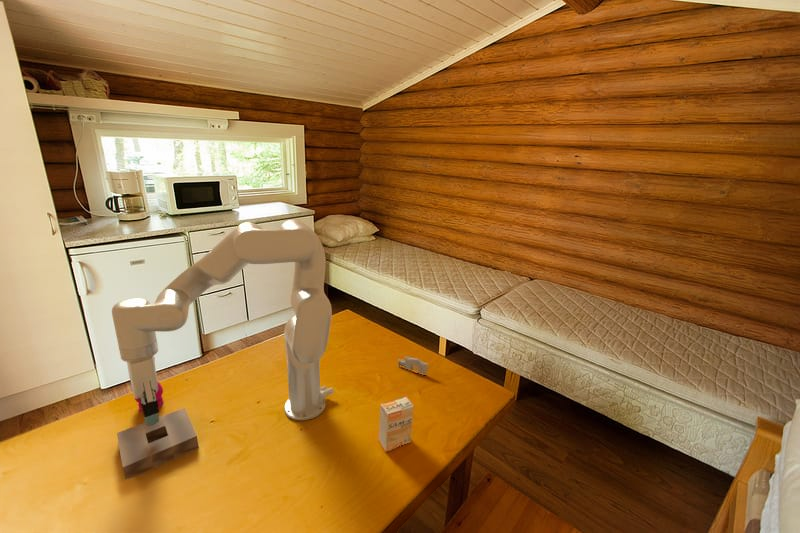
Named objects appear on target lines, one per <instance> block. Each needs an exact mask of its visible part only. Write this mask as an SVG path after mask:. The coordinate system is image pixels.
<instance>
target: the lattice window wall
mask: <svg viewBox="0 0 800 533" xmlns="http://www.w3.org/2000/svg"><path fill="white" fill-rule="evenodd" d="M397 362H398V365H399V366H400V365H401V366H404V368H407V369H410V370H414V369H415V370H416V371H419V372H418V373H423V374H426V373H427V372H428V365H429V363H427V362H424V361H423V360H421V359H419V358H417V357H409V356H405V357H404V359H401V358H399V359H398V360H397ZM413 368H414V369H413ZM427 374H428V373H427ZM427 374H426V375H427Z"/></svg>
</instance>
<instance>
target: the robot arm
mask: <svg viewBox="0 0 800 533" xmlns="http://www.w3.org/2000/svg"><path fill="white" fill-rule="evenodd" d="M326 261H327V260H326V252H325V249H324V245H323V244H322V241H321V240H320V238H319V237H318V235H317V234H316V232H315V231H314V230H313V229H312V228H311V227H310V226H309V225H307V224H306V223H304V222H302V221H300V220H297V219H289V220H286V221H284V222H283V223H282V224H281V225H280V227H279V229H264V228H263V227H261V226H260V225H258V224H257V223H254V222H249V221H247V222H243V223H240V224H238V225H237V226H236V227H234V228H233V230H231V231H230V232H229V233H227V235H226V236H225V237H223V238H222V240H221V241H219V242H218V243H217V244H216V245H215V246H214V247H213V248H211V250H209V251H208V252H207V253H206V254H205V255H204V256H203V257H201V258H200V259H198V260H197V261H196V262H195V263H194V264H192V265H191V266H189V267H188V268H187V269H185V270H184V271H182V272H181V273H180V274H179V275H178V276H177V277H176V278H174V279H173V280H172V281H171V282H170V283H169V284H168V285H167V286H166V287H164V289H162V290H161V292H160V293H159V294H158V296H156V299H155V301H154V302H153V303H151V302H150V301H149V300H147V299H144V298H137V297H136V298H128V299H125V300H122V301H119V302H117V303H115V304H114V305H113V306H112V309H111V316H112V320H113V325H114V331H115V335H116V339H117V345H118V351H119V355H120V360H121V361H123V362H126V365H127V369H128V376H129V379H130V386H131V389H132V393H133V397H134V399H135V398H136V399H138V398H140V401H141V397H142V401H143V403H141V407H142V408H143V412H142V413H143V418H144V417H148V416H151V415H154V414H157V413H158V414H159V413H160V407H159V408H158V402H157V399H156V396H155V392H157V391H158V383H157V381H158V374H157V369H156V364H155V363H156V361H154V358H155V355H156V354H157V353H158V352H159V345H158V339H157V333H156V332H159V333H161V332H163V333H165V332H175V331H178V330H179V329H181V328H183V327H184V326H185V325H186V323H187V322H188V317H189V309H190V306H191V304H193V302H195V301H196V300H197V299H198V298H199V297H200V296H201V295H202V294H203V293H205V292H206V291H207V290H208V289H210V288H212V287H214V286H217V285H218V286H219V285H220V286H221V285H226V284H228V283H229V282H231V281H232V280H233V278H235V277H236V276H237V275H238V274H239V273H240V272H241V271H242V270H243V269H244V268H245V267H246V266H247V265H249V264H250V265H271V264H284V263H285V264H287V263H294V273H293V282H292V288H291V289H292V290H291V295H290V304H291V305H290V306H291V307H292V310H293V312H294V314H295V315H293V316H291V317H290V318H289V319H288V320H287V322H286V324H285V326H284V329H283V330H284V331H283V336H284V343H285V350H286V364H287V368H286V369H287V382H288V387H287V388H288V399H287V400H286V401H285V403H284V413H285V415H286V416H287V417H288V418H290V419H291V420H294V421H308V420H312V419H314V418H317V417H318V416H319V415H321V414H322V413H323V412H324V410H325V408H326V400H325V398H327V396H329V395H332V394H334V392H335V390H334V388H333V387H330V388H329V387H328V388H327V386H326V385H324V386H321V374H320V373H321V372H320V364H321V363H320V359H321V358H322V357H323V356H324V354H325V352H326V350H327V347H328V341H329V337H330V336H329V335H330V329H331V323H332V314H333V310H332V304H331V302H330V299H329V298H328V296H327V295H326V293H325V289H324V288H325V287H324V286H325V277H326V276H325V275H326V267H327V266H326V264H327V263H326ZM151 389H152V390H151ZM144 396H146V398H145V397H144Z"/></svg>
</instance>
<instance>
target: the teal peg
mask: <svg viewBox="0 0 800 533" xmlns="http://www.w3.org/2000/svg"><path fill="white" fill-rule="evenodd" d="M151 390H152V389H151ZM144 397H145V398H146V396H144ZM141 403H143V401H142V397H141ZM142 409H143V408H142ZM159 417H160V416H159V413H157V414H154V415H151V416H148V417H144V416H143V418H144V423H145V424H146V425H147V426H151V425H154V424H156V423H157V422H158V421H159Z"/></svg>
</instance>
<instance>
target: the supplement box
mask: <svg viewBox="0 0 800 533" xmlns="http://www.w3.org/2000/svg"><path fill="white" fill-rule="evenodd" d="M379 408H380V410H379V425H378V426H379V427H378V428H379V429H378V431H379V432H378V442H379V444H380V445H381V447H382V449H383V451H384V453H387V451H388V452H390V451H392V449H393V450H395V449H398V448H400V447H402V446H401V445H403V446H405V445H404V444H407V443H410V442H411V439H412V427H413V416H414V415H413V414H414V404H412V402H411V400H410V399H408V397H407V396H405V397H401V398H397V399H393V400H390V401H386V402H383V403H380V407H379ZM410 444H411V443H410ZM407 445H408V444H407ZM399 446H400V447H399ZM397 447H398V448H397ZM394 448H395V449H394Z"/></svg>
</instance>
